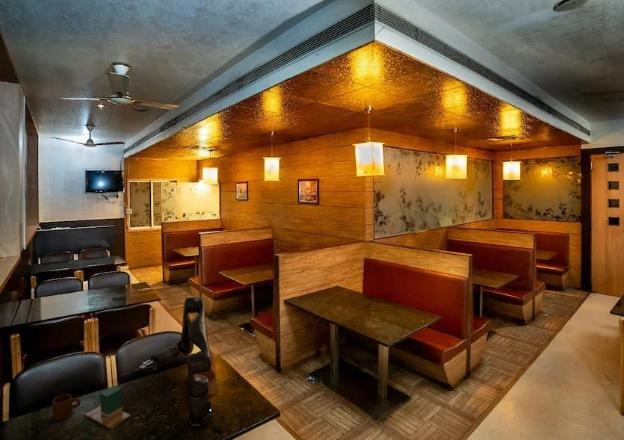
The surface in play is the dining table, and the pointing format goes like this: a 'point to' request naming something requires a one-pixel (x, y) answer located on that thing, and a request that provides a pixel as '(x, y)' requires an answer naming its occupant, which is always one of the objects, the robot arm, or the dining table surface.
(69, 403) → the mug
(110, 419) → the cork mat
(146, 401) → the dining table surface
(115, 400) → the carton
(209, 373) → the bread
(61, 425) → the dining table surface
